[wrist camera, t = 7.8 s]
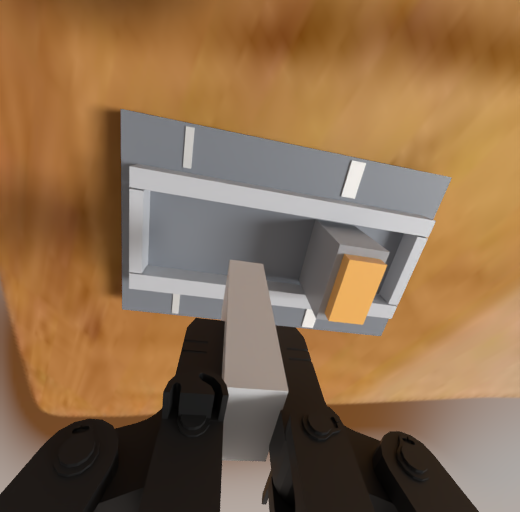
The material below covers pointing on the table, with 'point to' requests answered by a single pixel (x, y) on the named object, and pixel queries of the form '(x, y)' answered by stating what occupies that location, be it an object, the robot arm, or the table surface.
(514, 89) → the table surface
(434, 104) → the table surface
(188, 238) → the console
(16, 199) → the table surface
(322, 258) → the fader tab
